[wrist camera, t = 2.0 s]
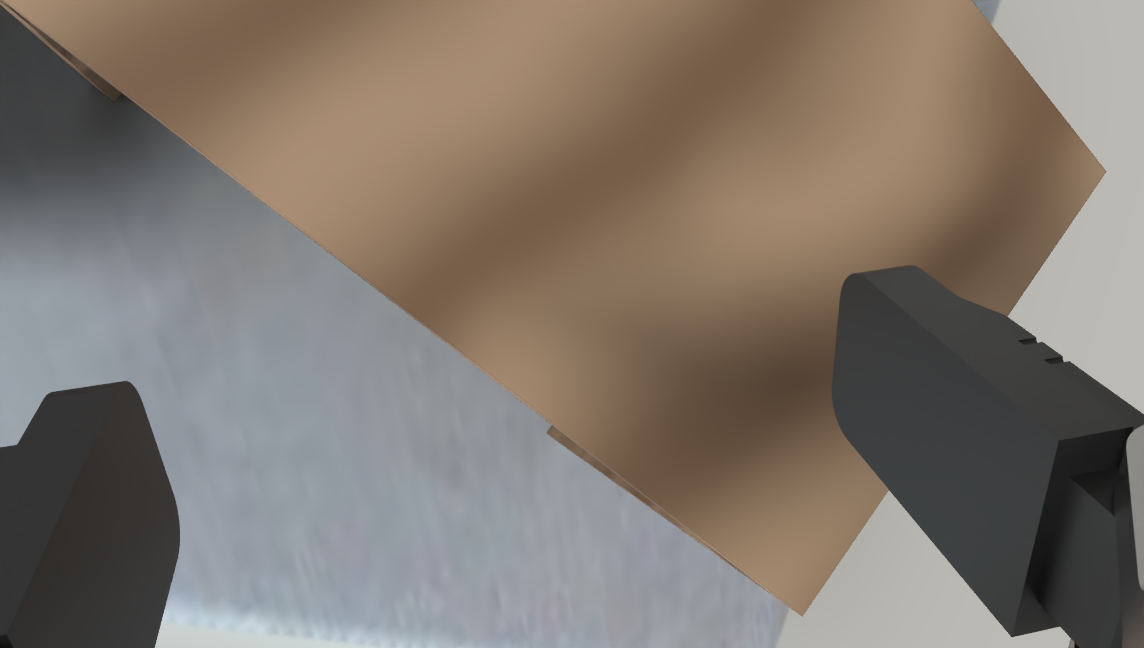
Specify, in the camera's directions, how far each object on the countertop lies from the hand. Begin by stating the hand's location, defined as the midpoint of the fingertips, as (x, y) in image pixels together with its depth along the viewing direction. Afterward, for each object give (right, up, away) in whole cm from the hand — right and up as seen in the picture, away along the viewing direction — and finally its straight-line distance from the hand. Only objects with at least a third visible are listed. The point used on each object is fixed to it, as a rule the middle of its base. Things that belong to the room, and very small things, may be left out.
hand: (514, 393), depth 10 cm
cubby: (-3, +8, +24) cm, 26 cm away
